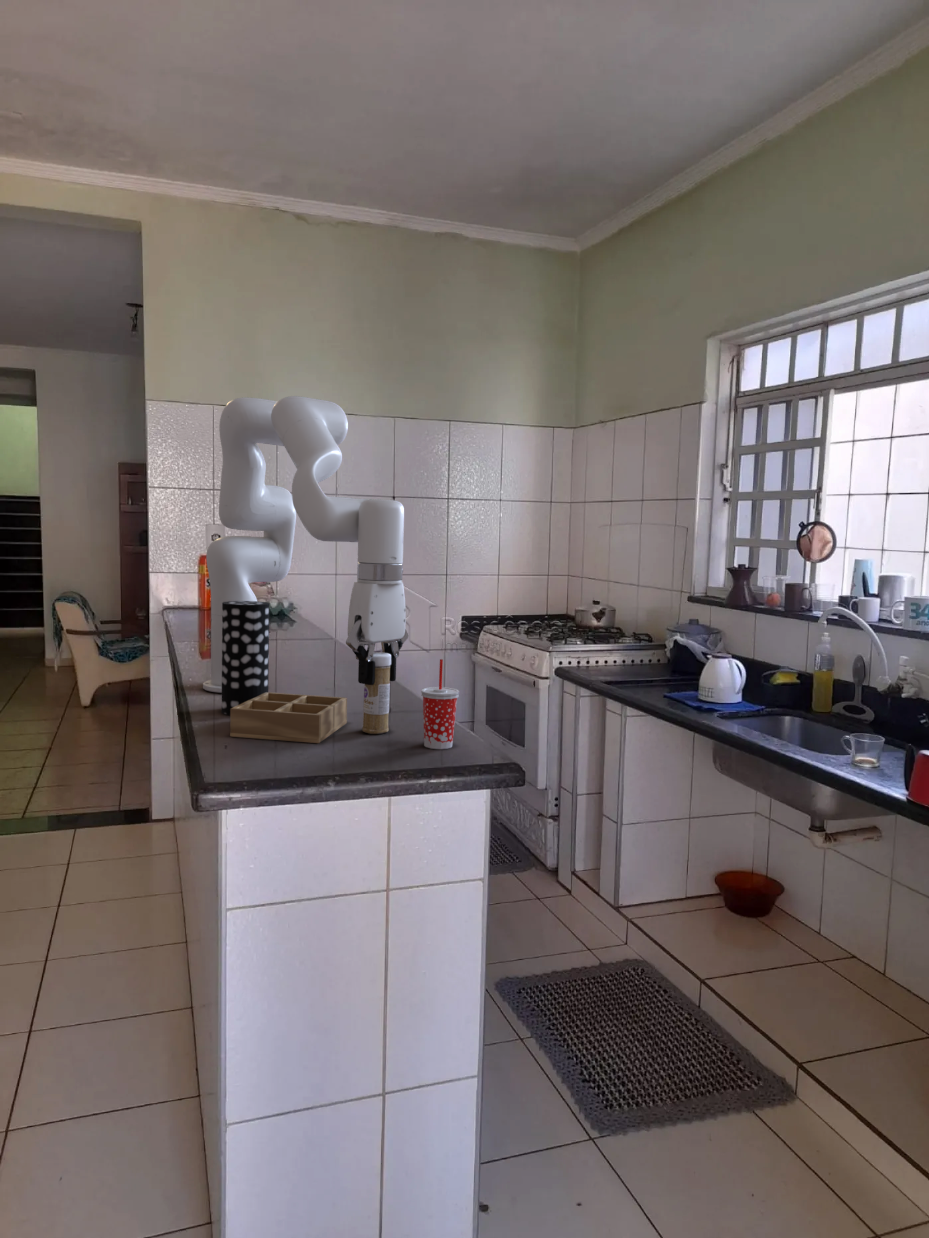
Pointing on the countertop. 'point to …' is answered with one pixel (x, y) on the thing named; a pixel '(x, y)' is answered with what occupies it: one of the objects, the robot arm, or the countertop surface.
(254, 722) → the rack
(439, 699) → the beverage cup
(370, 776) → the countertop surface
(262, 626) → the spotted tube
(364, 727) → the sprinkles bottle
